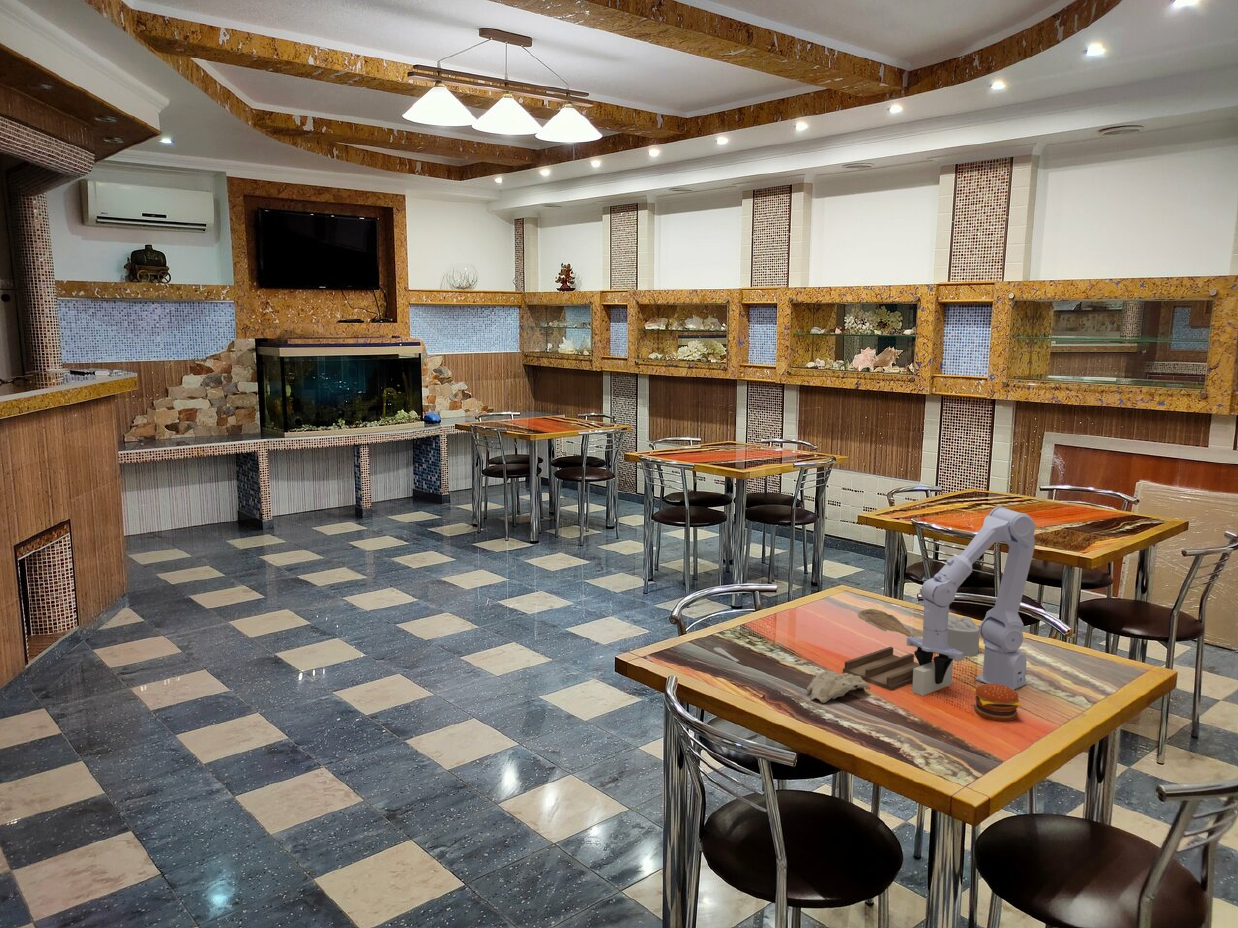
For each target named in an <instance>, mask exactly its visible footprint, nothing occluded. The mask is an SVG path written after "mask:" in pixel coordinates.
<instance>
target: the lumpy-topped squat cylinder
mask: <svg viewBox="0 0 1238 928" xmlns="http://www.w3.org/2000/svg"><path fill="white" fill-rule="evenodd" d="M979 628H980V625H978V624H977V623H976V622H974V621H973V619H972V618H971V617H969V616H963V617H958V616H957V615H955V614H949V615H948V633H947V645H948V646H950V647H952V648H954V649H956V650H958V651H960V652H963V657H969V658H970V657H977V656H978V655H979V650H980V649H979V648H980V636H981V635H980V632H979Z"/></svg>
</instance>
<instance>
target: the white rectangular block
mask: <svg viewBox="0 0 1238 928" xmlns="http://www.w3.org/2000/svg"><path fill="white" fill-rule="evenodd" d="M932 661H933V662H930V663H927V664H925V665H922V666H919V667H916V668H914V669H913V683H912V688H911V689H912V691H911V692H912V693H915V694H917V695H920V696H922V697H924V696H926V695H929V694H931V693H934V692H937V691H939V690H941V689H944V688H946V687H949V686H952V684H953V683H952V681H953V667H954V662H953V661H954V660H953V661H952V662H951V663H950V665H949V667H948V669H947V671H946V673H945V676H944V679H943V682H942V683H940V684H936V683H935V664H934V660H932Z"/></svg>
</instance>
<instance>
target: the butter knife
mask: <svg viewBox="0 0 1238 928" xmlns="http://www.w3.org/2000/svg"><path fill="white" fill-rule="evenodd" d="M712 650H713V651H715V652H716V653H719V654H721V655H722V656H724V657H727V658H729V659H730V660H732V661H734V662H740V659H737V658H736V657H734V656H733V655H731V654H730V653H728V652H727V651H726V650H725V649H724V648H722V647H713V648H712Z"/></svg>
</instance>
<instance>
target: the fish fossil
mask: <svg viewBox="0 0 1238 928" xmlns="http://www.w3.org/2000/svg"><path fill="white" fill-rule="evenodd" d="M857 616H858V617H857V618H859V619H860V620H863V621H864V622H865V623H867V624H870V625H871V626H873V627H875V628H876V629H878V630H882V631H884V632H887V631H890V632H895V633H900V634H903V635H904V636H906V637H907V638H908V637H911V636H912V637H915V634H913V633H912V632H911V631H910V630H909V629H907V628H906V627H905V625H904V624H903V623H902V622H901V621H900V620H899V619H898V617H896V616H894V615H893V614H888V612H885V611H882V610H879V609H876V608H868V609H867V608H866V609H865V610H864V609H863V610H860V611H859V612H858V613H857Z"/></svg>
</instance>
